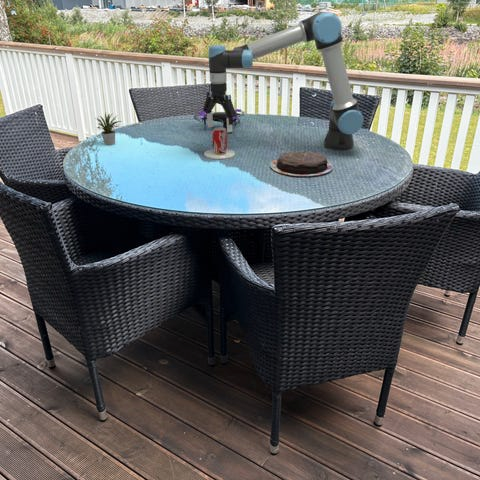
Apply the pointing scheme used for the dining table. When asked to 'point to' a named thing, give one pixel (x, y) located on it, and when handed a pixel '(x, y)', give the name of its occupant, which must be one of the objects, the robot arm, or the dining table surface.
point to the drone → (219, 118)
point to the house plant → (108, 129)
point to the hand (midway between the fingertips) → (219, 129)
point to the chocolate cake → (301, 164)
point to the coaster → (212, 155)
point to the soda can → (219, 140)
